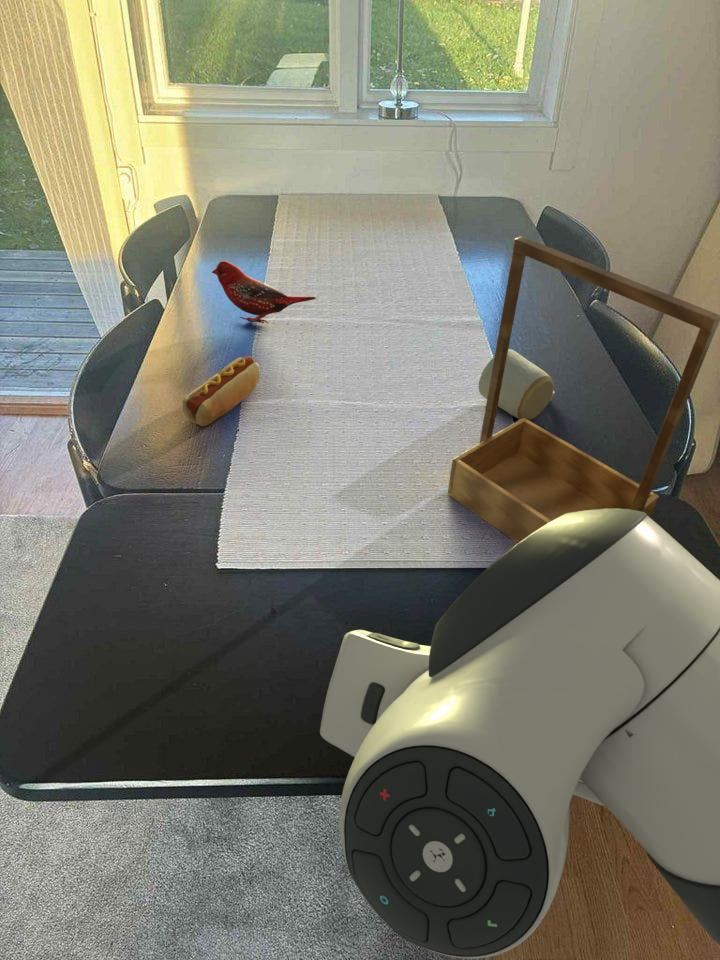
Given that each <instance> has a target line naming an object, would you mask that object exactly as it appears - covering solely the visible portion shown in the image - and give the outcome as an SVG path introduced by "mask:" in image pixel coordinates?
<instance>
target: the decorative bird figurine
mask: <svg viewBox="0 0 720 960" xmlns="http://www.w3.org/2000/svg"><path fill="white" fill-rule="evenodd" d="M211 274H214V275H215V276H217V279H218V282H219V284H220V285H221V287H222V290H223V292H224V293H225V295H226V297H227V299H228V300H229V301H230V302H231V303H232V304H233V305H234V306H235V307H236V308H238V309H239V310H241V311H243V312H245V313H247V314H250V315H254V316H256V317H251V316H249V317H242V316H239V317H238V319H242V320H246V321H247V322H249V323H260V324H265V323H266V324H269V322H268V321H267V320H266V319H263V318H265V317H267V316H268V315H271V314H276V313H280V312H282V311H283V310H284V309H285V310H286V308H287V307H289V306H291V305H293V304H298V303H303V302H309V301H314V300H316V299H317V298H316V297H315V296H297V295H296V296H291V295H290V296H289V295H287V294H285V293H284V292H283V291H280V290H279V289H277V288H276V287H274V286H271V285H269V284H267V283H265V282H262V281H260V280H257V279H255V278H253V277H250V276H249V275H247V274H246V273H244V272H243V271H242V270H241V269H240V268H239V266H237V265H235V264H233V263H231V262H229V261H227V260H221V261H219V262H218V264H217V265H216V267H215V268H214V269H213V270H212V271H211Z"/></svg>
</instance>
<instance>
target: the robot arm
mask: <svg viewBox="0 0 720 960" xmlns="http://www.w3.org/2000/svg"><path fill="white" fill-rule="evenodd" d="M431 638H432V639H431V643H430V645H423V644H419V643H417V642H412V641H408V640H403V639H399V638H396V637H391V636H388V635H385V634H381V633H379V632H372V631H368V630H364V629H355V630H351V631H349V632H346V633H345V634H344V635H343V639H342V642H341V644H340V645H341V646H340V648H339V652H338V655H337V658H336V661H335V665H334V667H333V671H332V674H331V678H330V681H329V684H328V688H327V692H326V697H325V700H324V704H323V710H322V715H321V721H320V727H319V734H320V736H321V738H322V739H323V740H325V741H326V742H327V743H329V744H331V745H333V746H335V747H336V748H338V749H339V750H340V751H342V752H344V753H346V754H348V755H349V756H351V757H353V758H354V759H353V760H352V764H351V765H350V768H349V770H348V773H347V776H346V777H345V778H346V779H345V781H344V785H343V788H342V793H341V798H340V803H339V812H338V818H339V819H338V827H339V828H338V830H339V838H340V845H341V849H342V850H341V851H342V854H343V857H344V861H345V864H346V867H347V870H348V872H349V874H350V877H351V878H352V881H353V882H354V884H355V886H356V888H357V889H358V890H359V892H360V894H361V895H362V897H363V899H364V900H365V901H366V903H367V904H368V905H369V906H370V908H371V909H372V910H373V911H374V913H375V914H377V916H378V917H379V918H380V919H381V920H382V921H383V922H384V923H385V924H386V925H387V926H388V927H389V928H391V930H393V932H395V933H396V934H398V935H399V936H401V937H402V938H403V939H405V940H407V941H409V942H410V943H412V944H413V945H415V946H418V947H420V948H422V949H424V950H427V951H430V952H433V953H435V954H439V955H443V956H445V957H451V958H456V959H464V960H465V959H466V960H478V959H479V960H480V959H485V958H487V959H488V958H491V957H495V956H498V955H501V954H504V953H507V952H509V951H511V950H513V949H514V948H516V947H518V946H519V945H520V944H522V943H524V942H525V941H526V940H527V939H528V938H529V937H530V936H531V935H532V934H533V933H535V931H536V929H537V928H538V927H539V926H540V924H541V923H542V921H543V919H544V918H545V916H546V915H547V913H548V911H549V910H550V907H551V905H552V904H553V901H554V898H555V896H556V894H557V891H558V889H559V884H560V882H561V879H562V875H563V872H564V868H565V863H566V858H567V853H568V852H567V851H568V844H569V839H570V838H569V835H570V822H571V821H570V820H571V818H570V817H571V801H572V799H573V796H575V797H578V798H581V799H583V800H585V801H589V802H591V803H594V804H597V805H600V806H602V807H605V808H606V809H607V810H608V811H609V812H610V813H611V814H612V816H614V817H615V819H616V820H617V821H618V822H619V823H620V824H621V825H622V826H623V827H624V829H626V831H627V832H628V833H629V834H630V835H631V836H632V837H633V838H634V839H635V841H636V842H638V844H639V845H640V846H641V847H642V848H643V849H644V850H645V853H646V856H647V857H648V859H649V860H650V861H651V863H652V864H653V866H654V867H655V868H656V870H657V871H658V872H659V874H660V875H661V876H662V877H663V878H664V880H665V881H666V883H667V884H668V885H669V886H670V887H671V889H672V890H673V891H674V892H675V894H676V895H677V896H678V897H679V899H680V900H681V901H682V903H683V904H684V905H685V907H686V908H687V909H688V910H689V912H690V913H691V914H692V915H693V917H694V918H695V919H696V921H697V922H698V924H699V925H701V927H702V928H703V929H704V930H705V932H706V933H707V934H708V936H709V937H710V938H711V939H712V940H713V941H714V942H716V943H717V945H720V579H719V578H718V577H717V576H715V574H713V573H712V572H711V571H710V570H709V569H708V568H707V567H705V566H704V564H703V563H701V562H700V561H699V560H698V559H697V558H695V556H694V555H693V554H691V553H690V552H689V551H688V550H687V549H686V548H685V547H684V546H682V544H681V543H679V541H677V540H676V539H675V538H673V536H671V534H669V533H668V532H667V531H666V530H665V529H664V528H663V527H662V526H660V525H659V524H658V523H657V522H656V521H654V520H653V519H652V517H651V518H649V517H648V516H647V514H646V513H645V512H641V511H637V510H630V509H618V508H609V509H596V510H585V511H578V512H572V513H566V514H564V515H562V516H560V517H558V518H556V519H554V520H553V521H551V522H549V523H548V524H546V525H544V526H543V527H541V528H539V529H538V530H536V531H535V532H533V533H532V534H530V535H529V536H527V537H526V538H525V539H523V540H522V541H520V542H519V543H518V544H517V543H516V544H514V545H513V546H512V547H511V548H510V549H509V550H507V551H505V553H503V554H502V555H500V557H499V558H497V559H496V560H495V561H494V562H493V563H492V564H490V565H489V566H488V567H487V568H486V569H484V571H483V572H481V573H480V574H479V575H478V576H477V577H476V578H475V579H474V580H473V581H472V582H471V583H470V584H469V585H468V586H467V587H466V588H465V589H464V590H463V591H462V593H461V594H460V595H459V596H458V597H457V598H456V599H455V600H454V601H453V602H452V604H451V605H449V607H448V608H447V610H446V611H444V613H443V614H442V615H441V617H440V618H439V619H438V621H437V622H436V624H435V626H434V630H433V634H432V637H431Z"/></svg>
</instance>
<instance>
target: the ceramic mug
mask: <svg viewBox="0 0 720 960" xmlns="http://www.w3.org/2000/svg"><path fill="white" fill-rule="evenodd" d="M494 358H495V355H494V356H492V357H491V359H489V361H488V362H487V363H486V365H485V366H484V368H483V370H482V372H481V373H480V374H481V375H480V377H479V380H478V392H479V394H480V395H481V396H482V398H484V399H486V400H487V398H488V392H489V386H490V380H491V375H492V369H493V363H494ZM555 394H556V393H555V383H554V380H553V379H552V377H551V376H550V375H549V374H548V373H547V372H546V371H544V370H543V369H541V368H540V367H538V366H537V365H536V364H534V363H533V362H531V361H529V360H528V359H526V358H525V357H524V356H522V355H521V354H520V353H518V352H517V351H515V350H513V349H510V348H508V353H507V358H506V364H505V369H504V374H503V380H502V385H501V390H500V396H499V401H498V406H497V407H499V408H500V409H502V410H504V411H505V412H507V413H508V414H509V415H511V416H512V417H515V418H516V419H518V420H520V419H522V418H525V419H527V420H529V421H530V420H532V419H534V418H536V417H537V416H539V415H540V414H541V413H542V412H543V411H544V410H545V409H546V407H547V406H548V404H549V402H551V401H552V399H553V398H554V395H555Z"/></svg>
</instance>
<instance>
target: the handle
mask: <svg viewBox="0 0 720 960" xmlns="http://www.w3.org/2000/svg"><path fill="white" fill-rule="evenodd" d="M526 257H527V258H529V259H532V260H534V261H537V262H540V263H541V264H544V265H547V266H549V267H551V268H554V269H557V270H559V271H561V272H563V273H565V274H568V275H570V276H573V277H575V278H577V279H581V280H583V281H585V282H587V283H590V284H592V285H595V286H597V287H600V288H602V289H604V290H607V291H608V292H609V291H610V292H612V293H614V294H617V295H619V296H622V297H624V298H626V299H629V300H631V301H634V302H635V303H639V304H641V305H643V306H645V307H648V308H650V309H652V310H655V311H658V312H660V313H663V314H665V315H667V316H670V317H672V318H674V319H676V320H679V321H681V322H684V323H686V324H689V325H691V326H692V327H695V328H699V330H698V332H697V335H696V338H695V339H694V343H693V346H692V348H691V351H690V353H689V355H688V358H687V360H686V362H685V363H686V364H685V366H684V368H683V371H682V374H681V377H680V378H679V382H678V384H677V387H676V389H675V392H674V395H673V397H672V400H671V402H670V405H669V407H668V410H667V412H666V416H665V418H664V421H663V422H662V426H661V428H660V431H659V433H658V436H657V438H656V441H655V444H654V445H653V446H654V447H653V449H652V452H651V454H650V457H649V460H648V462H647V465H646V467H645V470H644V473H643V475H642V478H641V481H640V483H639V488H638V491H637V493H636V496H635V498H634V501H633V504H632V506H631V509H630V510H637V511H641V512H643V510H644V507H645V505H646V502H647V500H648V497H649V495H650V492H652V490H653V487H654V484H655V483H656V480H657V477H658V475H659V473H660V469H661V468H662V465H663V462H664V460H665V458H666V455H667V453H668V451H669V447H670V445H671V443H672V440H673V437H674V435H675V433H676V430H677V427H678V425H679V423H680V420H681V418H682V415H683V412H684V411H685V408H686V405H687V402H688V400H689V398H690V396H691V392H692V390H693V388H694V385H695V383H696V380H697V378H698V375H699V373H700V371H701V368H702V365H703V363H704V362H705V361H704V360H705V358H706V356H707V352H708V351H709V348H710V346H711V343H712V340H713V338H714V336H715V333H716V331H717V329H718V326H719V324H720V314H718V313H716V312H713V311H712V310H711V311H710V310H708V309H706V308H703V307H701V306H698V305H696V304H693V303H691V302H688V301H686V300H683V299H681V298H678V297H676V296H673V295H670V294H668V293H665V292H663V291H661V290H658V289H656V288H653V287H650V286H648V285H645V284H643V283H640V282H638V281H635V280H633V279H630V278H628V277H625V276H623V275H620V274H618V273H616V272H614V271H613V272H612V271H610V270H608V269H606V268H602V267H600V266H597V265H595V264H593V263H590V262H588V261H584V260H583V259H580V258H577V257H575V256H572V255H570V254H567V253H565V252H563V251H560V250H558V249H555V248H552V247H550V246H547V245H545V244H542V243H540V242H537V241H534V240H533V239H532V240H531V239H530V238H528V237H527V238H526V237H525V236H519V237H516V238H514V241H513V246H512V255H511V262H510V266H509V267H510V268H509V272H508V279H507V284H506V289H505V295H504V301H503V306H502V313H501V317H500V324H499V330H498V335H497V341H496V346H495V352H494V356H495V358H494V363H493V369H492V375H491V380H490V386H489V392H488V398H487V399H486V405H485V409H484V416H483V420H482V421H483V422H482V425H481V426H482V427H481V432H480V438H479V443H478V444H480V443H481V442H483V441H485V440H486V439H488V438H490V437H492V436H493V432H494V426H495V422H496V416H497V411H498V407H499V406H498V401H499V396H500V390H501V385H502V380H503V374H504V369H505V364H506V358H507V353H508V349H510V348H509V347H510V341H511V337H512V331H513V326H514V320H515V316H516V310H517V306H518V305H517V304H518V299H519V294H520V288H521V283H522V277H523V273H524V268H525V262H526Z"/></svg>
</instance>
